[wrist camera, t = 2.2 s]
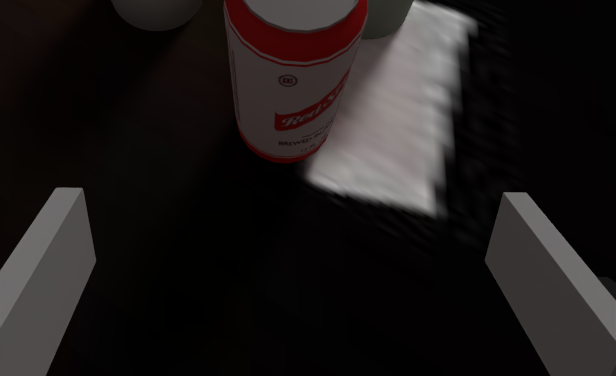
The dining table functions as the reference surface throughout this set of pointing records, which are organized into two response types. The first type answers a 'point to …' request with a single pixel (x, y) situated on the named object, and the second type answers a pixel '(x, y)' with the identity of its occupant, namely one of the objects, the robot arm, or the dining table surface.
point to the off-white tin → (157, 13)
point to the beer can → (290, 70)
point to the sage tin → (385, 17)
